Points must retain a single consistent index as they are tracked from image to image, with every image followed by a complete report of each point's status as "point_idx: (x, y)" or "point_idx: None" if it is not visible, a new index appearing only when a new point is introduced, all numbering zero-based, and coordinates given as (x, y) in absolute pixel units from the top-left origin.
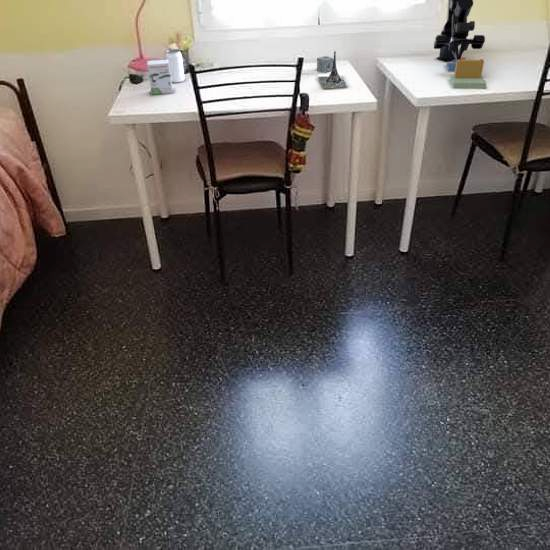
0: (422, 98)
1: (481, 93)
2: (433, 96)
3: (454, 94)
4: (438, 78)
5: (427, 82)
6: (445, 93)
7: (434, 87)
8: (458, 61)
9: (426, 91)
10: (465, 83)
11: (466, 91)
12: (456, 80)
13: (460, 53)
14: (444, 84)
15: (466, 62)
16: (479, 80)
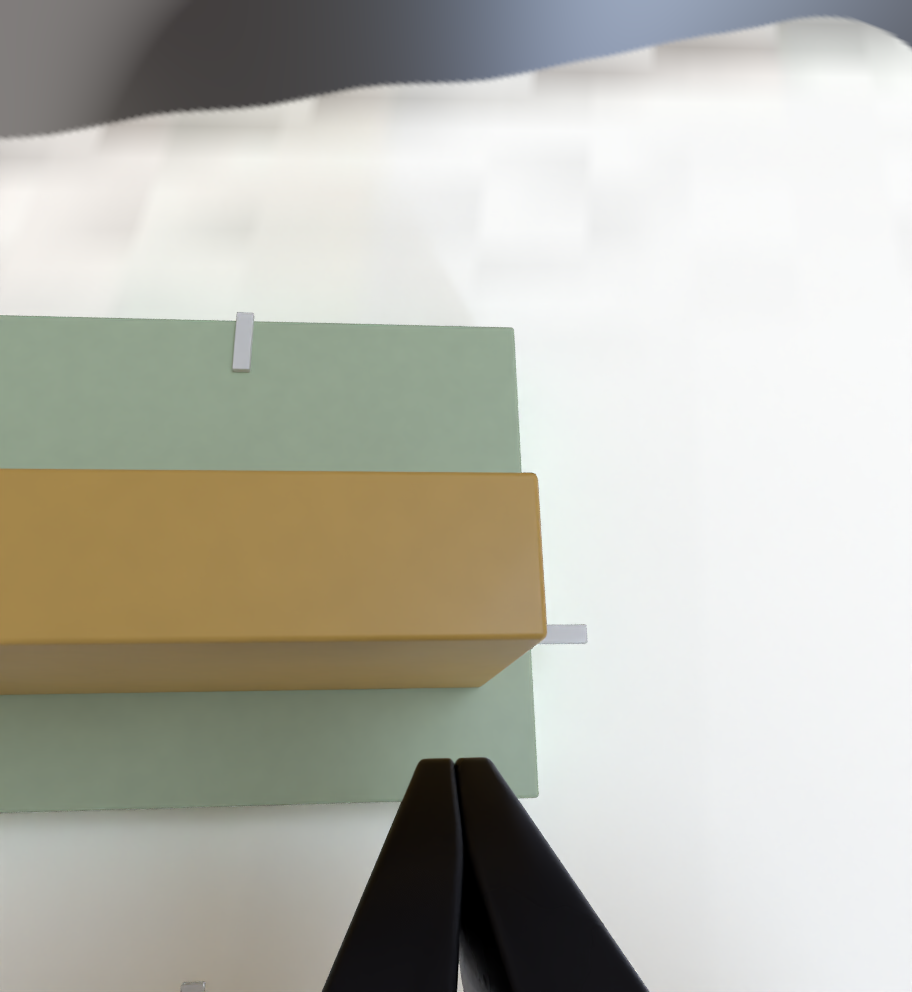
0: (877, 34)
1: (131, 169)
2: (760, 85)
3: (504, 140)
4: (731, 892)
5: (899, 631)
6: (617, 173)
7: (770, 395)
8: (502, 477)
9: (862, 241)
10: (321, 324)
11: (325, 241)
12: (458, 449)
13: (418, 977)
14: (624, 538)
15: (249, 483)
16: (29, 457)
